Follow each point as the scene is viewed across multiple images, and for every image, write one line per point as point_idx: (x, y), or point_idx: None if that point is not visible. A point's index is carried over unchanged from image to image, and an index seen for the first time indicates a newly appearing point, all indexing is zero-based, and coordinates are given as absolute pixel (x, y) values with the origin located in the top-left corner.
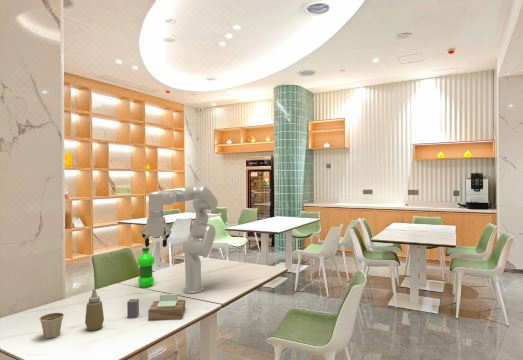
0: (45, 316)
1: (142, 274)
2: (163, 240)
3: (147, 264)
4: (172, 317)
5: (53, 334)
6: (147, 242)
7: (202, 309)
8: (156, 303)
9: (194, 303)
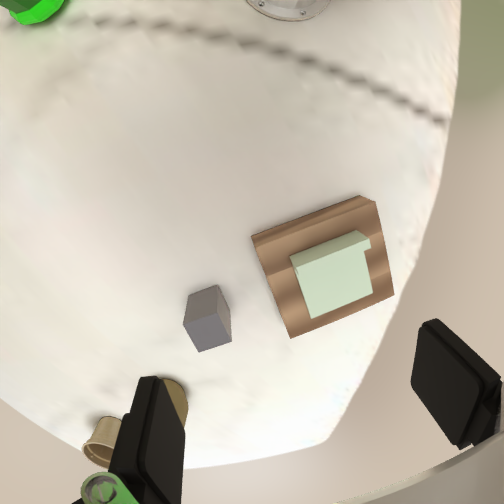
0: (85, 450)
1: (16, 6)
2: (460, 439)
3: None
4: None
5: None
6: (176, 466)
7: (414, 188)
8: (281, 272)
9: (367, 131)
